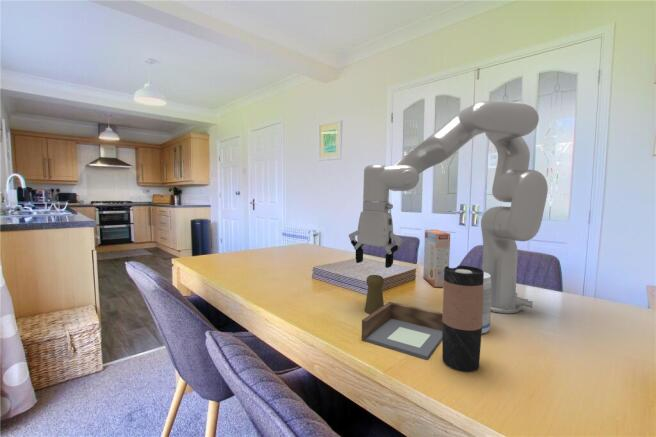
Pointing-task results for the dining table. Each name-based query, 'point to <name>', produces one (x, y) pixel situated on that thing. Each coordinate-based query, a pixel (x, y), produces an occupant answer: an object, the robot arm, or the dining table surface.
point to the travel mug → (462, 317)
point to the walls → (400, 317)
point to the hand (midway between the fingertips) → (373, 264)
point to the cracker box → (436, 256)
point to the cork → (374, 293)
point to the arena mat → (407, 338)
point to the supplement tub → (486, 303)
